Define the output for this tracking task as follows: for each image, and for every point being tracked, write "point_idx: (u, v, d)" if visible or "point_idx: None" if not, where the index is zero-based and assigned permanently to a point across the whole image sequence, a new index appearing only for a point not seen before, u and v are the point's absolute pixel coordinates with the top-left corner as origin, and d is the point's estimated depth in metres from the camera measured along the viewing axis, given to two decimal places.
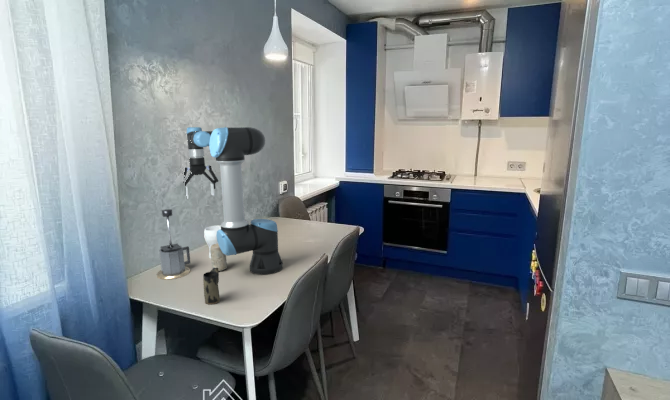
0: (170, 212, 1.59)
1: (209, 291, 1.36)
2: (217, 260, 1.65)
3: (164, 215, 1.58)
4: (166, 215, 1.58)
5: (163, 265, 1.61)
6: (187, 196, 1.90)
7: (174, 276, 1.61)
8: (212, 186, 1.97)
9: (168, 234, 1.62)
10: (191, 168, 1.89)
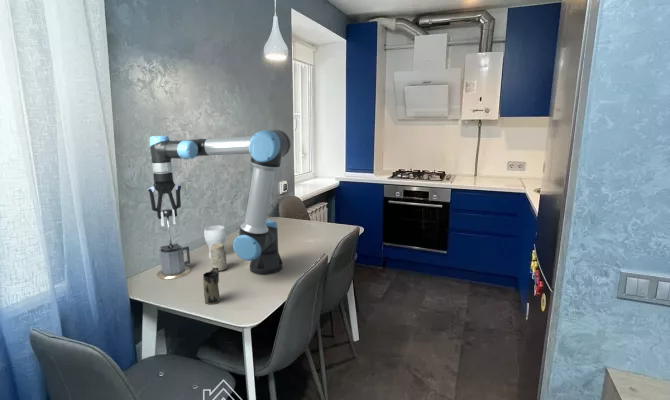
0: (170, 212, 1.59)
1: (209, 291, 1.36)
2: (217, 260, 1.65)
3: (164, 215, 1.58)
4: (166, 215, 1.58)
5: (163, 265, 1.61)
6: (163, 223, 1.59)
7: (174, 276, 1.61)
8: (173, 213, 1.60)
9: (168, 234, 1.62)
10: (156, 186, 1.55)
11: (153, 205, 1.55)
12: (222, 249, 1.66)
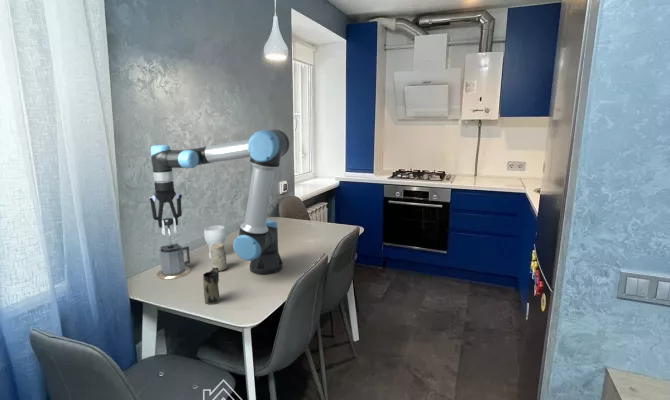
0: (171, 221, 1.60)
1: (209, 291, 1.36)
2: (217, 260, 1.65)
3: (165, 224, 1.59)
4: (167, 224, 1.59)
5: (163, 265, 1.61)
6: (164, 232, 1.60)
7: (174, 276, 1.61)
8: (174, 222, 1.61)
9: (169, 242, 1.63)
10: (157, 195, 1.56)
11: (154, 214, 1.56)
12: (222, 249, 1.66)
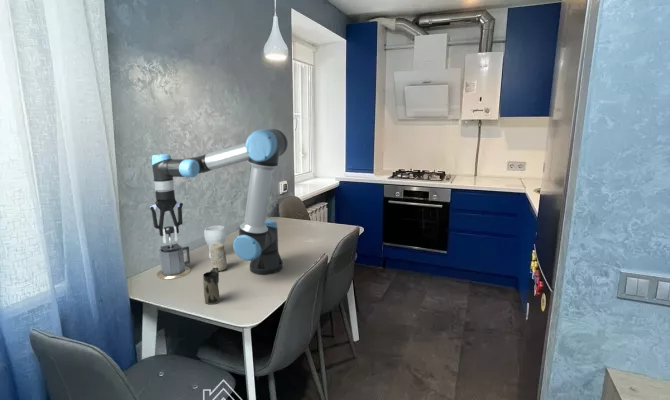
0: (172, 229, 1.61)
1: (209, 291, 1.36)
2: (217, 260, 1.65)
3: (166, 232, 1.60)
4: (168, 232, 1.60)
5: (163, 265, 1.61)
6: (165, 240, 1.60)
7: (174, 276, 1.61)
8: (174, 230, 1.62)
9: None
10: (158, 204, 1.56)
11: (155, 223, 1.57)
12: (222, 249, 1.66)
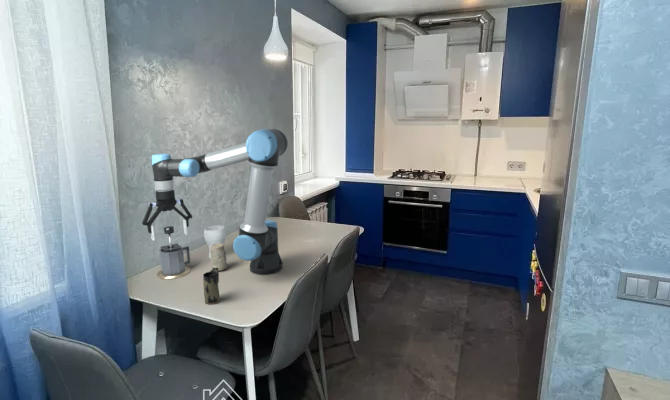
0: (172, 229, 1.61)
1: (209, 291, 1.36)
2: (217, 260, 1.65)
3: (166, 232, 1.60)
4: (168, 232, 1.60)
5: (163, 265, 1.61)
6: (153, 237, 1.57)
7: (174, 276, 1.61)
8: (185, 223, 1.64)
9: None
10: (158, 203, 1.56)
11: (145, 219, 1.54)
12: (222, 249, 1.66)
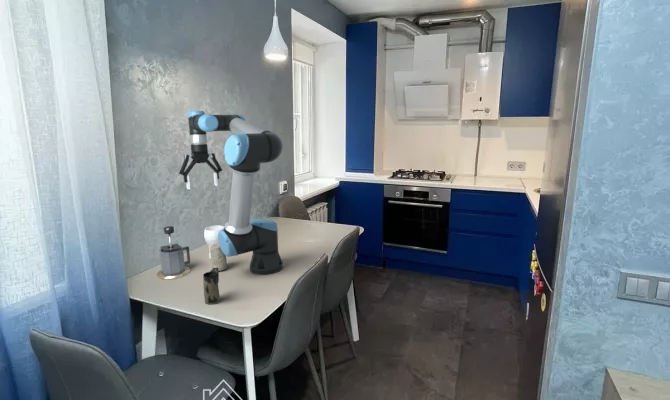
0: (172, 229, 1.61)
1: (209, 291, 1.36)
2: (217, 260, 1.65)
3: (166, 232, 1.60)
4: (168, 232, 1.60)
5: (163, 265, 1.61)
6: (189, 186, 1.74)
7: (174, 276, 1.61)
8: (216, 176, 1.82)
9: None
10: (193, 155, 1.73)
11: (183, 169, 1.71)
12: None
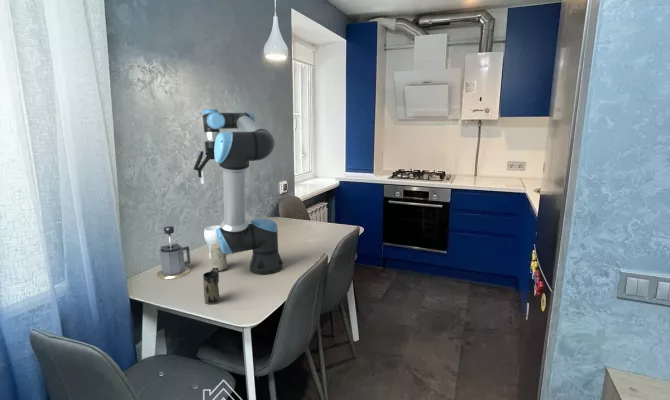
0: (172, 229, 1.61)
1: (209, 291, 1.36)
2: (217, 260, 1.65)
3: (166, 232, 1.60)
4: (168, 232, 1.60)
5: (163, 265, 1.61)
6: (203, 181, 1.83)
7: (174, 276, 1.61)
8: None
9: None
10: (207, 152, 1.82)
11: (197, 165, 1.80)
12: None
